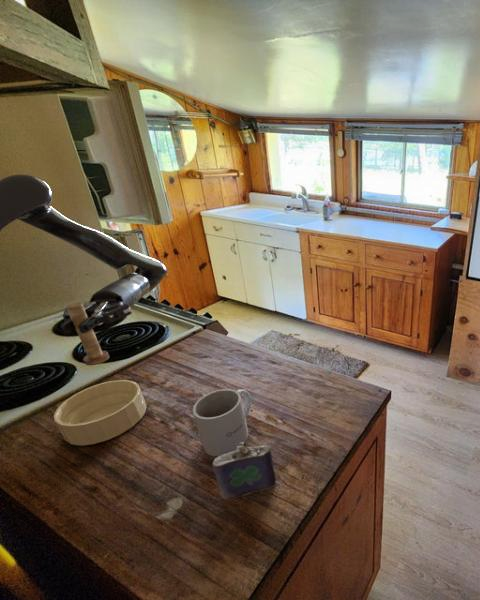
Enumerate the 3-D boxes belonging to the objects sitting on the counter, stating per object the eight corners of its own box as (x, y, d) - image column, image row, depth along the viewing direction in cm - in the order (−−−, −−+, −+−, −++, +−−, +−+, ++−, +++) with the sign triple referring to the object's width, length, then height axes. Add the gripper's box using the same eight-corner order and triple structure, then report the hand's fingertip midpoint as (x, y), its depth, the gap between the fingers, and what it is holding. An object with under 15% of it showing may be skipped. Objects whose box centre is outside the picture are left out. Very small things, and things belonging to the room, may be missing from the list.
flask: (220, 502, 57) (208, 460, 53) (223, 488, 60) (211, 446, 55) (276, 487, 60) (269, 446, 56) (276, 474, 63) (269, 433, 58)
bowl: (47, 451, 65) (34, 430, 63) (92, 403, 77) (82, 383, 75) (127, 442, 68) (117, 421, 65) (158, 396, 80) (151, 377, 78)
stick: (80, 366, 75) (54, 309, 69) (92, 355, 79) (69, 301, 73) (102, 364, 76) (79, 308, 70) (113, 354, 80) (92, 300, 73)
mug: (221, 462, 64) (211, 425, 60) (194, 445, 68) (182, 409, 64) (270, 421, 74) (264, 387, 70) (244, 408, 78) (237, 374, 74)
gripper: (81, 285, 83) (26, 316, 67) (144, 283, 85) (104, 312, 70) (92, 311, 86) (41, 347, 70) (151, 308, 89) (115, 342, 73)
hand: (73, 329), depth 70 cm, fingers closed on stick, 2 cm apart
